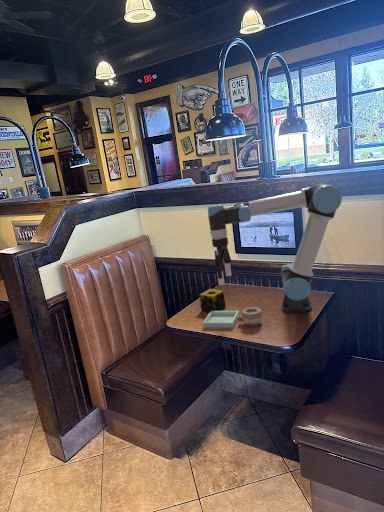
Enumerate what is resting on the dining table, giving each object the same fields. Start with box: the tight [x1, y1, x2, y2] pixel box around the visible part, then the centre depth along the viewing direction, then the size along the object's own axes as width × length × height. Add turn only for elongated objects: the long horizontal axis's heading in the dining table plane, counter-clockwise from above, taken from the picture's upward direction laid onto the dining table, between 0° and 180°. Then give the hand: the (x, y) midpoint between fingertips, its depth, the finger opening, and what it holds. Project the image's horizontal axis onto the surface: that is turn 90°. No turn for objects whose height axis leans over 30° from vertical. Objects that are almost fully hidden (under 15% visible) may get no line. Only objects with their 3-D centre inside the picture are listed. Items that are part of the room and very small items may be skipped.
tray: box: [202, 310, 240, 330], centre depth 188 cm, size 15×15×3 cm
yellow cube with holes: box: [198, 288, 227, 314], centre depth 206 cm, size 10×10×10 cm
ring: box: [237, 306, 263, 324], centre depth 180 cm, size 11×9×5 cm
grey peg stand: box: [244, 311, 261, 328], centre depth 180 cm, size 6×6×6 cm
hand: (225, 280), depth 183 cm, fingers open, 13 cm apart
